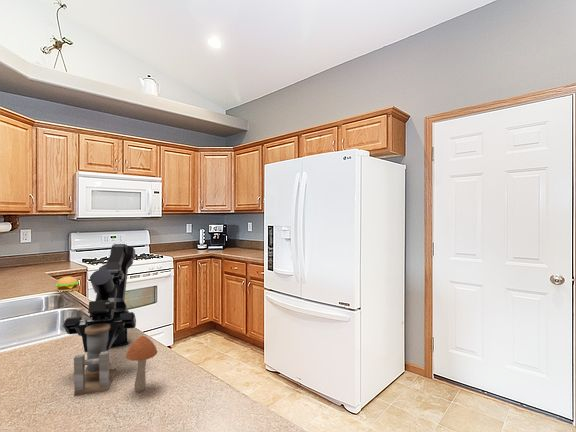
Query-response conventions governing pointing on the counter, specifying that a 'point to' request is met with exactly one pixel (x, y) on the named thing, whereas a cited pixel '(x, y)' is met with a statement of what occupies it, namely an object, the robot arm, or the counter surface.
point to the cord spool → (96, 345)
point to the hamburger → (67, 284)
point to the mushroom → (141, 358)
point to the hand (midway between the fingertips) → (96, 350)
